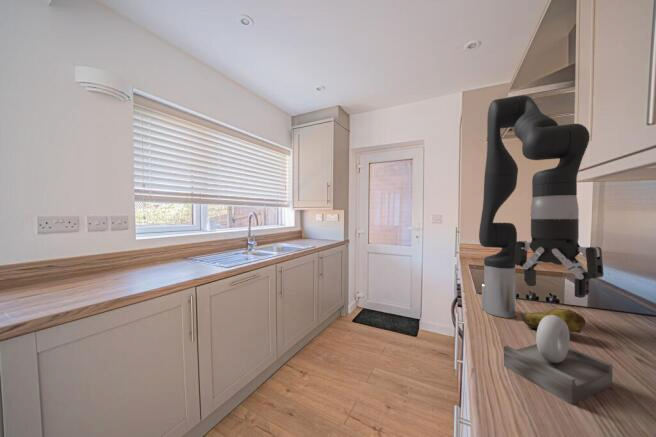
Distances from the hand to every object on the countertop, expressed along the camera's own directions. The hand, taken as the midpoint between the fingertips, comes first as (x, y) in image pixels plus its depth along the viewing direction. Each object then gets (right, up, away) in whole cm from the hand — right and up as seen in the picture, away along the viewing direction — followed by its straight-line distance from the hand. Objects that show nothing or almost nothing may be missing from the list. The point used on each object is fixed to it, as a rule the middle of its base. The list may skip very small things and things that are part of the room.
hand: (553, 290), depth 51 cm
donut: (0, -16, 0) cm, 16 cm away
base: (0, -19, 0) cm, 19 cm away
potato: (+18, -19, +19) cm, 33 cm away
